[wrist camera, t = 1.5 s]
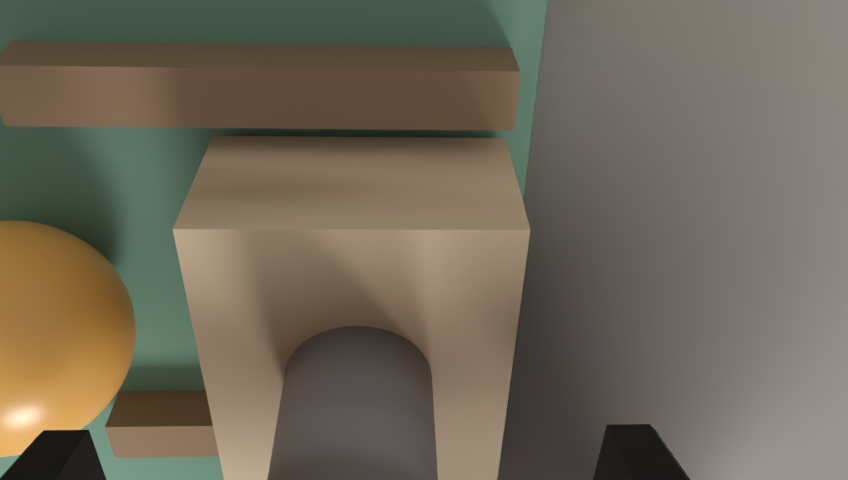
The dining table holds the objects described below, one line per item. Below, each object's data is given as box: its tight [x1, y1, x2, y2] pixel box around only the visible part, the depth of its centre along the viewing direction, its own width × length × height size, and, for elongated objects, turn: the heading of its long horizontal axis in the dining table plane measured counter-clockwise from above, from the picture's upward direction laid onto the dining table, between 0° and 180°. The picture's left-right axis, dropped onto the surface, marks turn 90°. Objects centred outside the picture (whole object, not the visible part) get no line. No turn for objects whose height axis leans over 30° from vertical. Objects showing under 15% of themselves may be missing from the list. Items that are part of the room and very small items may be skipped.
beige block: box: [173, 136, 530, 480], centre depth 11 cm, size 6×5×8 cm
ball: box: [0, 220, 136, 457], centre depth 13 cm, size 4×4×4 cm
